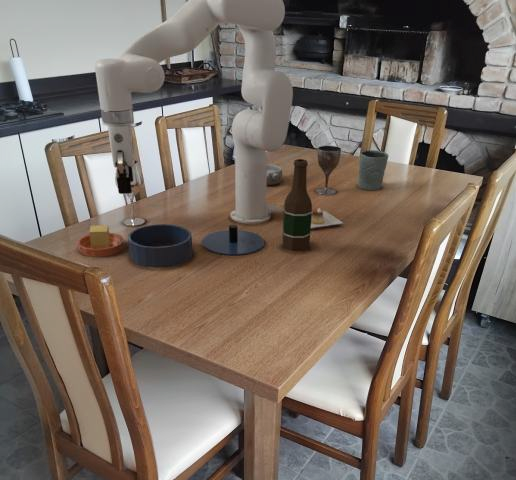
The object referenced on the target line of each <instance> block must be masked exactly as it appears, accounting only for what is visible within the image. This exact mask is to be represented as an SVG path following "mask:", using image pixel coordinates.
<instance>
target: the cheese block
mask: <svg viewBox="0 0 516 480" xmlns="http://www.w3.org/2000/svg"><path fill="white" fill-rule="evenodd" d="M109 233H110V228H109V225H108V224H106V225H104V224H103V225H90V227H89V231H88V235H89V234H90V241H91V247H92V249H104V248H109V247H110V246H111V242H110V235H109Z"/></svg>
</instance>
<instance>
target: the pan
mask: <svg viewBox="0 0 516 480" xmlns="http://www.w3.org/2000/svg"><path fill="white" fill-rule="evenodd" d="M127 244H128V251H129V259H130V260H131V262H132V263H134V264H136V265H138V266H140V267H143V268H156V269H157V268H170V267H174V266H175V267H176V266H179V265H181V264H185V263H187V262H188V261H189V260H190V259H191V258H192V257H193V253H194V252H193V235H192V232H191V231H190V230H189V229H188V228H186V227H184V226H181V225H176V224H169V223H168V224H167V223H160V224H159V223H157V224H156V223H155V224H150V225H149V224H148V225H144V226H140V227H137V228H136V229H133V230H131V231H130V232H129V234H128V235H127ZM160 244H162V245H163V244H167V245H166V246H151V245H160Z"/></svg>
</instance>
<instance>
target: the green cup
mask: <svg viewBox="0 0 516 480" xmlns="http://www.w3.org/2000/svg"><path fill="white" fill-rule="evenodd" d="M389 156H390V155H389V153H387V152H385V151H381V150H373V149H368V150H362V151H360V153H359V166H358V167H359V169H358V173H359V174H358V180H357V186H358V188H359V189H361V190H365V191H378V190H380V189H382V186H383V181H384V176H385V170H386V167H387V163H388V159H389Z"/></svg>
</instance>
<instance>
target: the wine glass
mask: <svg viewBox="0 0 516 480" xmlns="http://www.w3.org/2000/svg"><path fill="white" fill-rule="evenodd" d="M341 154H342V148H340V147H339V146H335V145H321V146H319V147H318V148H317V163H318V166H319V167H320V170H322V172H323V174H324V177H325V178H324V179H325V182H324V183H325V185H324V187H323V188H322V187H321V188H318V189H316V190H315V192H316V193H317V194H319V195H324V196H325V195H326V196H328V195H330V196H331V195H335V194H336V192H337V191H336V190H334V189H332V188H328V185H329V184H328V183H329V179H330V175H331V174H332V172H333V171H335V169H336V168H337V167H338V165H339V163H340V161H341V156H342V155H341Z"/></svg>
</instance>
